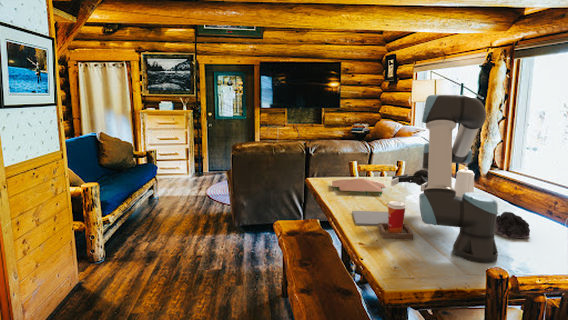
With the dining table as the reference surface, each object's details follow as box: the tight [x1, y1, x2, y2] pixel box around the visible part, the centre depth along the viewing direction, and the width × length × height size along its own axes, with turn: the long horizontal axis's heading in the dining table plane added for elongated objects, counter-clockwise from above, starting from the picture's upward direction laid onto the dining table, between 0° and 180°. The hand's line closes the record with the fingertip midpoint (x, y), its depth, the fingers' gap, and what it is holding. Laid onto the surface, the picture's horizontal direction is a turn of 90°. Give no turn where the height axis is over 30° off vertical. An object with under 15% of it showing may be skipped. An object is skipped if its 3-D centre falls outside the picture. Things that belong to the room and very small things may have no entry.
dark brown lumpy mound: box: [495, 211, 531, 239], centre depth 154 cm, size 13×14×10 cm
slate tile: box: [352, 210, 388, 227], centre depth 174 cm, size 18×18×1 cm
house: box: [331, 178, 386, 196], centre depth 225 cm, size 23×33×8 cm
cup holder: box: [377, 223, 414, 241], centre depth 155 cm, size 12×12×2 cm
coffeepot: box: [453, 166, 476, 197], centre depth 205 cm, size 11×25×19 cm, turn 168°
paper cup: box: [387, 200, 407, 233], centre depth 154 cm, size 8×8×14 cm
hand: (406, 185), depth 159 cm, fingers open, 13 cm apart
